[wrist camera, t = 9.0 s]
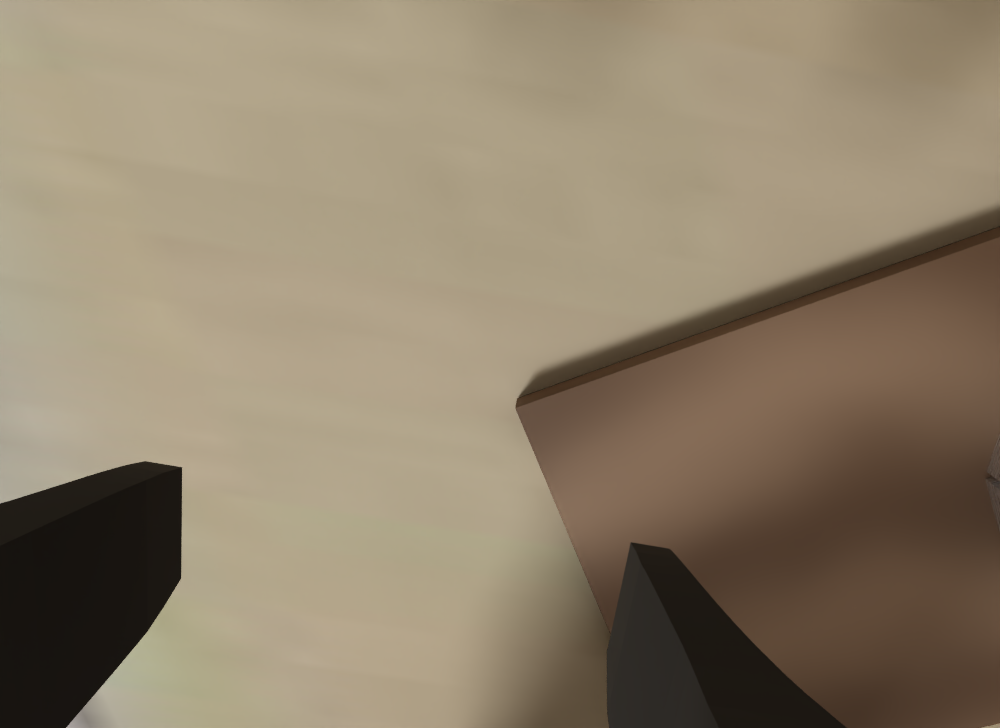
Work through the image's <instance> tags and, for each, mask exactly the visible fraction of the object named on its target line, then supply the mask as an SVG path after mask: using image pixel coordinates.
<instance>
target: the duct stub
mask: <svg viewBox="0 0 1000 728" xmlns="http://www.w3.org/2000/svg"><path fill="white" fill-rule="evenodd" d="M986 472H988V473H989V474H990V475H992V476H993V477H989V478H986V479H985V480H986V483H987V487H988V491H989V495H990V499H991V503H992V507H993V511H994V515H995V519H996V523H997V527H998V530H999V533H1000V434H999V437H998V439H997V442H996V445H995V447H994V450H993V453H992V456H991V458H990V461H989V464H988V466H987V469H986Z"/></svg>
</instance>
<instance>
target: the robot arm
mask: <svg viewBox="0 0 1000 728" xmlns="http://www.w3.org/2000/svg"><path fill="white" fill-rule="evenodd" d="M181 527H182V467H176V466H170V465H164V464H158V463H152V462H146V461H145V462H139V463H134V464H130V465H125V466H122V467H118V468H114V469H111V470H107V471H104V472H100V473H97V474H94V475H91V476H87V477H84V478H81V479H78V480H75V481H71V482H68V483H65V484H62V485H59V486H56V487H53V488H49V489H46V490H43V491H40V492H37V493H34V494H30V495H27V496H24V497H21V498H18V499H15V500H11V501H8V502H4V503H1V504H0V728H66V727H67V726H68V725H69V724H70V722H71V721H72V720H73V719H74V718H75V717H76V715H77V714H78V713H79V712H80V711H81V710H82V708H83V707H84V706H85V705H86V704H87V702H88V701H89V700H90V699H91V698H92V697H93V695H94V694H95V693H96V692H97V691H98V690H99V688H100V687H101V686H102V685H103V684H104V683H105V681H106V680H107V679H108V678H109V677H110V676H111V674H112V673H113V672H114V671H115V670H116V669H117V667H118V666H119V665H120V664H121V663H122V661H123V660H124V659H125V658H126V657H127V655H128V654H129V653H130V652H131V651H132V649H133V648H134V647H135V646H136V645H137V643H138V642H139V641H140V640H141V639H142V637H143V636H144V635H145V634H146V632H147V631H148V630H149V628H150V627H151V625H152V624H153V622H154V621H155V619H156V618H157V616H158V615H159V613H160V612H161V610H162V609H163V607H164V605H165V604H166V602H167V600H168V599H169V597H170V596H171V594H172V592H173V591H174V589H175V587H176V586H177V584H178V582H179V581H180V579H181ZM607 713H608V722H609V728H847V727H845V726H844V725H843V724H842V723H841V722H839V721H838V720H837V719H836V718H835V717H833V716H832V715H831V714H830V713H829V712H828V711H826V710H825V709H824V708H823V707H822V706H820V705H819V704H818V703H817V702H816V701H814V700H813V699H812V698H811V697H810V696H809V695H807V694H806V693H805V692H804V691H803V690H802V689H801V688H799V687H798V686H797V685H796V684H795V683H794V682H793V681H792V680H791V679H790V678H788V677H787V676H786V675H785V674H784V673H783V672H782V671H781V670H780V669H779V668H778V667H777V666H776V665H775V664H774V663H773V662H772V661H771V660H770V659H769V658H768V657H767V656H766V655H765V654H764V653H763V652H762V651H761V650H760V649H759V648H758V647H757V646H756V645H755V644H754V643H753V642H752V641H751V640H750V639H749V638H748V637H747V636H746V635H745V634H744V633H743V631H742V630H741V629H740V628H739V627H738V626H737V625H736V624H735V623H734V622H733V621H732V619H731V618H730V617H729V616H728V615H727V614H726V613H725V612H724V611H723V609H722V608H721V607H720V606H719V605H718V604H717V603H716V601H715V600H714V599H713V598H712V597H711V596H710V595H709V593H708V592H707V591H706V590H705V589H704V587H703V586H702V585H701V584H700V583H699V582H698V580H697V579H696V578H695V577H694V576H693V574H692V573H691V572H690V571H689V570H688V568H687V567H686V566H685V565H684V564H683V563H682V561H681V560H680V559H679V558H678V557H677V556H676V555H675V553H674V552H673V551H672V550H671V549H669V548H663V547H657V546H651V545H645V544H639V543H633V542H631V543H630V548H629V552H628V557H627V562H626V566H625V571H624V575H623V580H622V585H621V589H620V594H619V599H618V603H617V608H616V612H615V617H614V622H613V626H612V631H611V636H610V640H609V645H608V649H607Z"/></svg>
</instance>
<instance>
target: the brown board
mask: <svg viewBox="0 0 1000 728" xmlns="http://www.w3.org/2000/svg"><path fill="white" fill-rule="evenodd" d="M516 411H517V413H518V415H519V418H520V420H521V423H522V425H523V427H524V430H525V432H526V434H527V437H528V439H529V442H530V444H531V446H532V449H533V451H534V454H535V456H536V458H537V461H538V463H539V465H540V468H541V470H542V473H543V475H544V477H545V480H546V482H547V484H548V487H549V489H550V492H551V494H552V496H553V499H554V501H555V504H556V506H557V508H558V511H559V513H560V515H561V518H562V520H563V523H564V525H565V527H566V530H567V532H568V534H569V537H570V539H571V542H572V544H573V546H574V549H575V551H576V554H577V556H578V558H579V561H580V563H581V565H582V568H583V570H584V573H585V575H586V577H587V580H588V582H589V584H590V587H591V589H592V592H593V594H594V596H595V599H596V601H597V604H598V606H599V608H600V611H601V613H602V615H603V618H604V620H605V623H606V625H607V627H608V630H609V632H610V634H611V631H612V626H613V622H614V617H615V612H616V608H617V603H618V599H619V594H620V589H621V585H622V580H623V575H624V571H625V566H626V562H627V557H628V552H629V548H630V543H631V542H633V543H639V544H645V545H651V546H657V547H663V548H669V549H671V550H672V551H673V552H674V553H675V555H676V556H677V557H678V558H679V559H680V560H681V561H682V563H683V564H684V565H685V566H686V567H687V568H688V570H689V571H690V572H691V573H692V574H693V576H694V577H695V578H696V579H697V580H698V582H699V583H700V584H701V585H702V586H703V587H704V589H705V590H706V591H707V592H708V593H709V595H710V596H711V597H712V598H713V599H714V600H715V601H716V603H717V604H718V605H719V606H720V607H721V608H722V609H723V611H724V612H725V613H726V614H727V615H728V616H729V617H730V618H731V619H732V621H733V622H734V623H735V624H736V625H737V626H738V627H739V628H740V629H741V630H742V631H743V633H744V634H745V635H746V636H747V637H748V638H749V639H750V640H751V641H752V642H753V643H754V644H755V645H756V646H757V647H758V648H759V649H760V650H761V651H762V652H763V653H764V654H765V655H766V656H767V657H768V658H769V659H770V660H771V661H772V662H773V663H774V664H775V665H776V666H777V667H778V668H779V669H780V670H781V671H782V672H783V673H784V674H785V675H786V676H787V677H788V678H790V679H791V680H792V681H793V682H794V683H795V684H796V685H797V686H798V687H799V688H801V689H802V690H803V691H804V692H805V693H806V694H807V695H809V696H810V697H811V698H812V699H813V700H814V701H816V702H817V703H818V704H819V705H820V706H822V707H823V708H824V709H825V710H826V711H828V712H829V713H830V714H831V715H832V716H833V717H835V718H836V719H837V720H838V721H839V722H841V723H842V724H843V725H844V726H845V727H847V728H981V727H985V726H990V725H994V724H998V723H1000V533H999V530H998V527H997V523H996V519H995V515H994V511H993V507H992V503H991V499H990V495H989V491H988V487H987V483H986V480H985V479H986V478H989V477H993V476H992V475H990V474H989V473H988V472H986V469H987V466H988V464H989V461H990V458H991V456H992V453H993V450H994V447H995V445H996V442H997V439H998V437H999V434H1000V227H998V228H995V229H992V230H989V231H986V232H984V233H981V234H978V235H975V236H972V237H970V238H967V239H964V240H961V241H958V242H956V243H953V244H950V245H947V246H944V247H941V248H939V249H936V250H933V251H930V252H927V253H925V254H922V255H919V256H916V257H913V258H911V259H908V260H905V261H902V262H899V263H897V264H894V265H891V266H888V267H885V268H882V269H880V270H877V271H874V272H871V273H868V274H866V275H863V276H860V277H857V278H854V279H852V280H849V281H846V282H843V283H840V284H838V285H835V286H832V287H829V288H826V289H823V290H821V291H818V292H815V293H812V294H809V295H807V296H804V297H801V298H798V299H795V300H793V301H790V302H787V303H784V304H781V305H778V306H776V307H773V308H770V309H767V310H764V311H762V312H759V313H756V314H753V315H750V316H748V317H745V318H742V319H739V320H736V321H734V322H731V323H728V324H725V325H722V326H719V327H717V328H714V329H711V330H708V331H705V332H703V333H700V334H697V335H694V336H691V337H689V338H686V339H683V340H680V341H677V342H675V343H672V344H669V345H666V346H663V347H660V348H658V349H655V350H652V351H649V352H646V353H644V354H641V355H638V356H635V357H632V358H630V359H627V360H624V361H621V362H618V363H615V364H613V365H610V366H607V367H604V368H601V369H599V370H596V371H593V372H590V373H587V374H585V375H582V376H579V377H576V378H573V379H571V380H568V381H565V382H562V383H559V384H556V385H554V386H551V387H548V388H545V389H542V390H540V391H537V392H534V393H531V394H528V395H526V396H523V397H520V398H517V403H516Z"/></svg>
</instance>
